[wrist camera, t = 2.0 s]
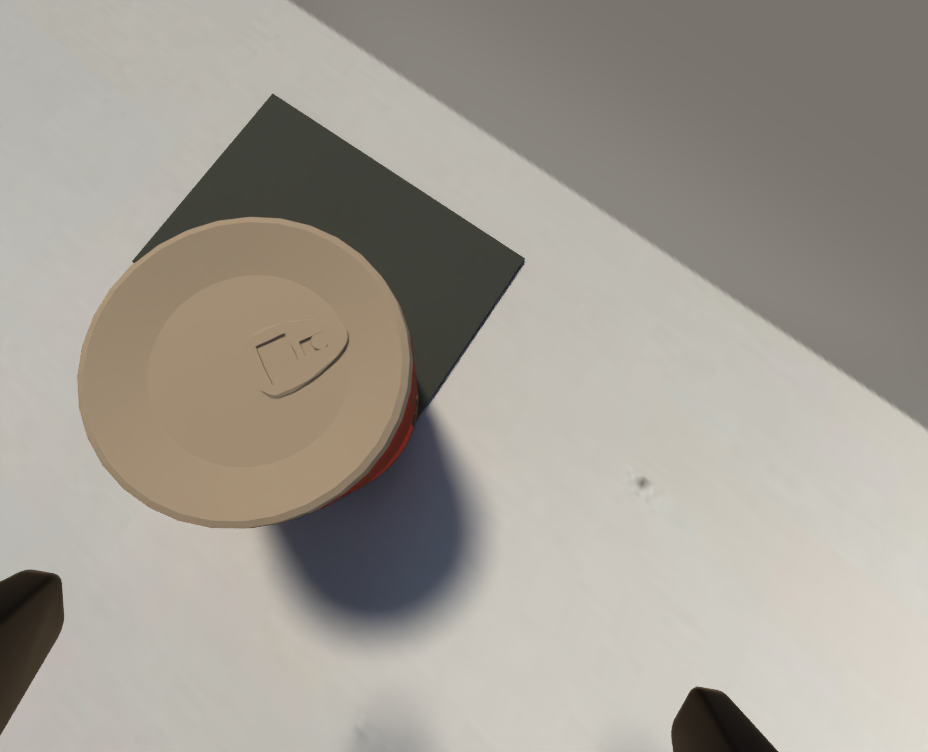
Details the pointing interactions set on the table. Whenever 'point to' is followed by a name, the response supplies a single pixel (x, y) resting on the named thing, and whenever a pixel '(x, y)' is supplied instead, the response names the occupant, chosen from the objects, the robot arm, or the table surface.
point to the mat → (359, 227)
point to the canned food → (247, 374)
